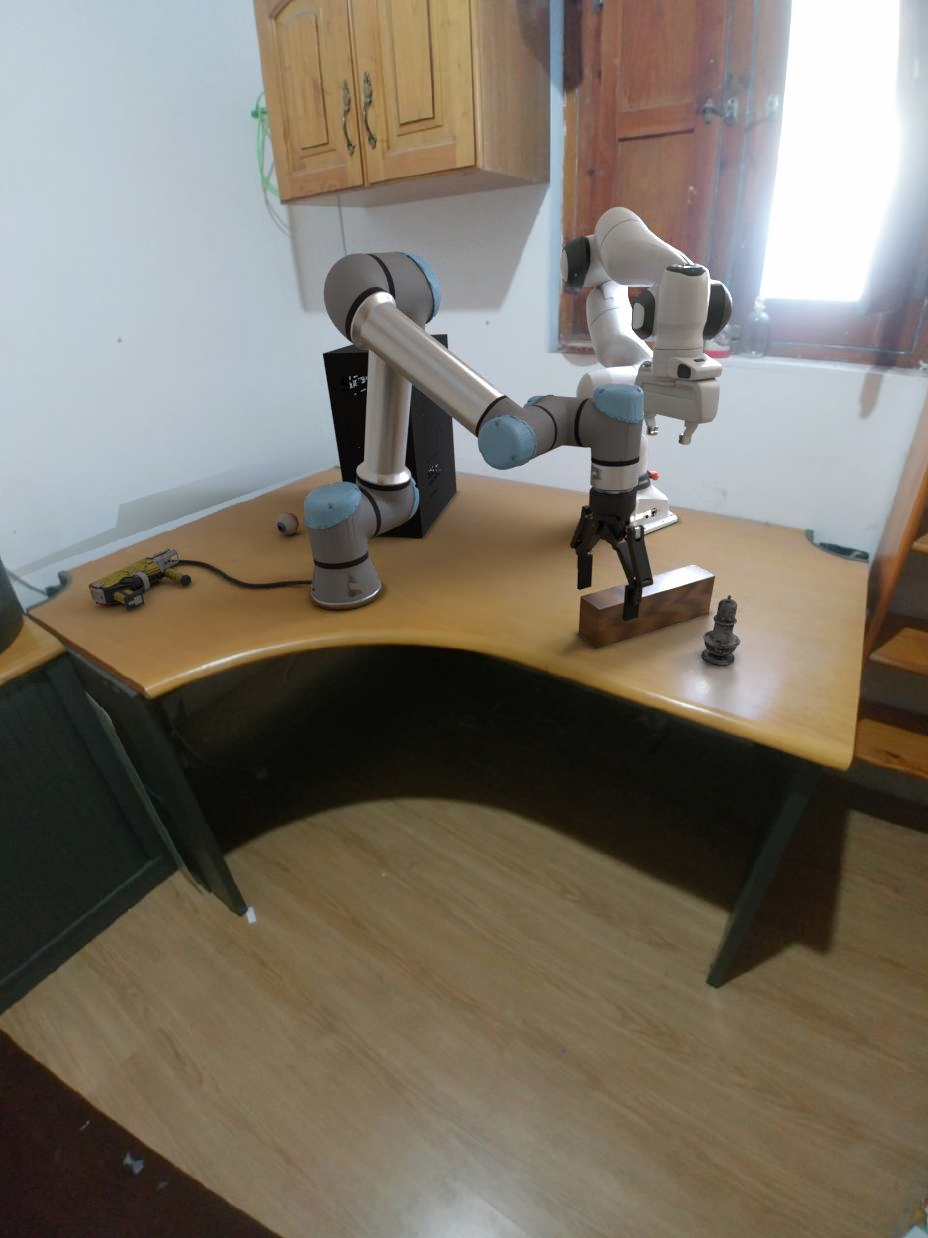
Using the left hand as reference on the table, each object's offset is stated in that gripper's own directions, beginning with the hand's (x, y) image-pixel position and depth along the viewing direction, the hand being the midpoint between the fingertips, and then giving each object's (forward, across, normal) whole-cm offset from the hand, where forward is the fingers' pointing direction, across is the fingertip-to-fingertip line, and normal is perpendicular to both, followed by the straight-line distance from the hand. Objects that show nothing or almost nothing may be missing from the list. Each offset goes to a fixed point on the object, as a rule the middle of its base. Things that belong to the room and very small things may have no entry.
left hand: (606, 602), depth 108 cm
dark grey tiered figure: (+8, +15, +13) cm, 21 cm away
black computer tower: (+6, -84, -8) cm, 85 cm away
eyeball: (+6, -85, -42) cm, 95 cm away
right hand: (-22, -17, +26) cm, 38 cm away
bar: (+7, 0, +10) cm, 12 cm away
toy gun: (+6, -68, -76) cm, 102 cm away
